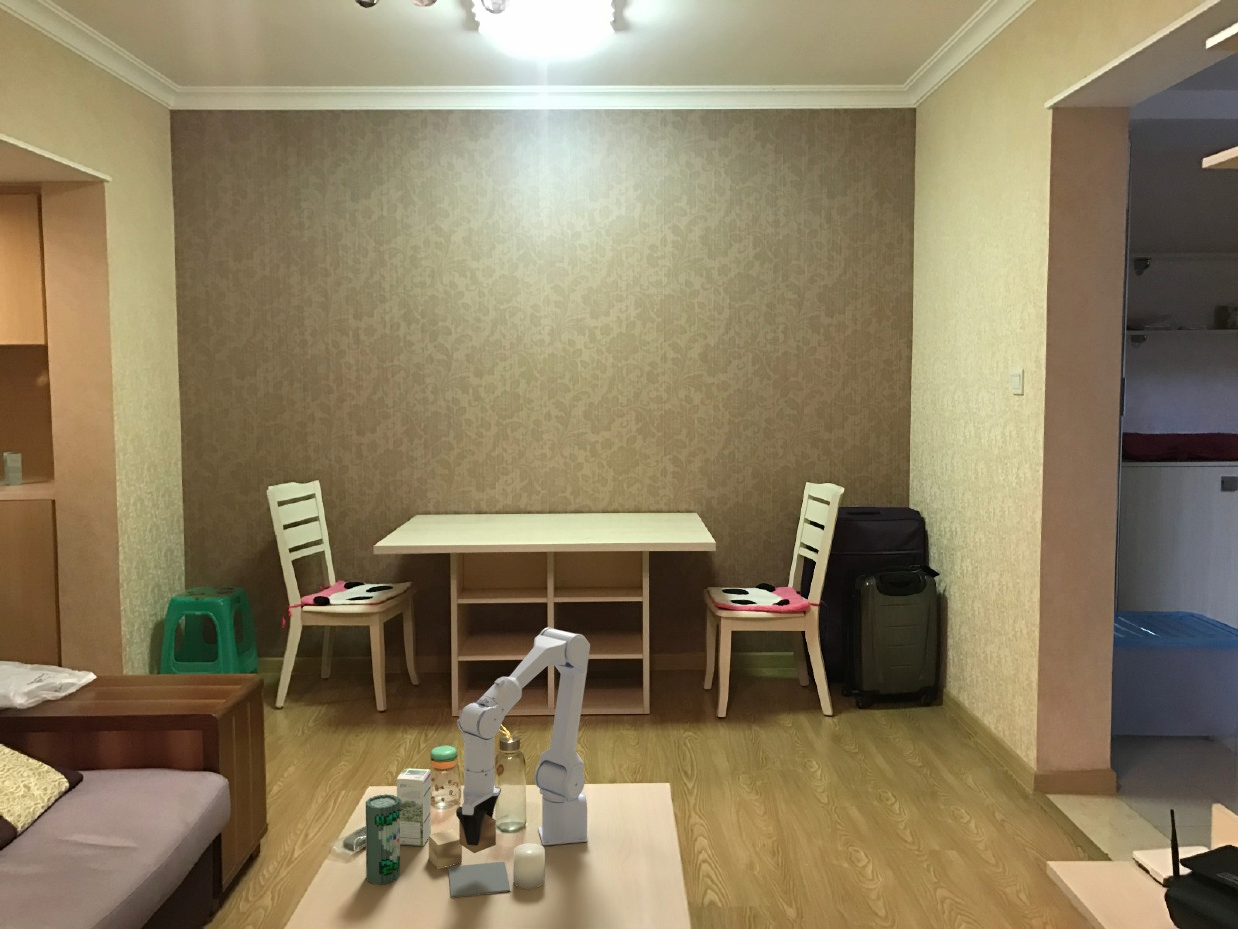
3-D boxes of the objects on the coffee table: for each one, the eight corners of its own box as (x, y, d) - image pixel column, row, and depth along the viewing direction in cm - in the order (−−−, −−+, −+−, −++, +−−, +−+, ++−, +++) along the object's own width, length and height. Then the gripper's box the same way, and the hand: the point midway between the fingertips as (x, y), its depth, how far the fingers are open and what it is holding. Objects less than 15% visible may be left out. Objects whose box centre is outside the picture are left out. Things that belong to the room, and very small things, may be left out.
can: (390, 886, 181) (390, 809, 180) (361, 882, 183) (360, 806, 181) (404, 870, 187) (404, 796, 186) (375, 867, 188) (375, 793, 187)
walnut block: (481, 835, 188) (480, 811, 187) (495, 845, 184) (495, 820, 184) (459, 843, 185) (459, 819, 184) (474, 853, 181) (474, 828, 180)
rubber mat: (504, 863, 190) (504, 861, 190) (510, 892, 180) (510, 889, 180) (448, 868, 188) (448, 866, 188) (451, 898, 177) (450, 895, 177)
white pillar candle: (542, 871, 188) (542, 842, 187) (546, 887, 182) (546, 856, 181) (511, 874, 186) (511, 844, 186) (515, 890, 180) (515, 859, 180)
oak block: (451, 852, 195) (451, 829, 194) (461, 863, 191) (461, 839, 190) (428, 859, 192) (428, 835, 192) (438, 869, 188) (438, 845, 188)
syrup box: (431, 834, 202) (431, 768, 201) (423, 847, 197) (423, 779, 195) (405, 833, 203) (405, 766, 202) (396, 846, 197) (395, 778, 196)
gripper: (488, 783, 175) (487, 855, 176) (509, 754, 190) (509, 820, 191) (451, 780, 176) (451, 851, 177) (475, 751, 191) (475, 817, 192)
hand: (478, 835), depth 184 cm, fingers closed on walnut block, 7 cm apart
